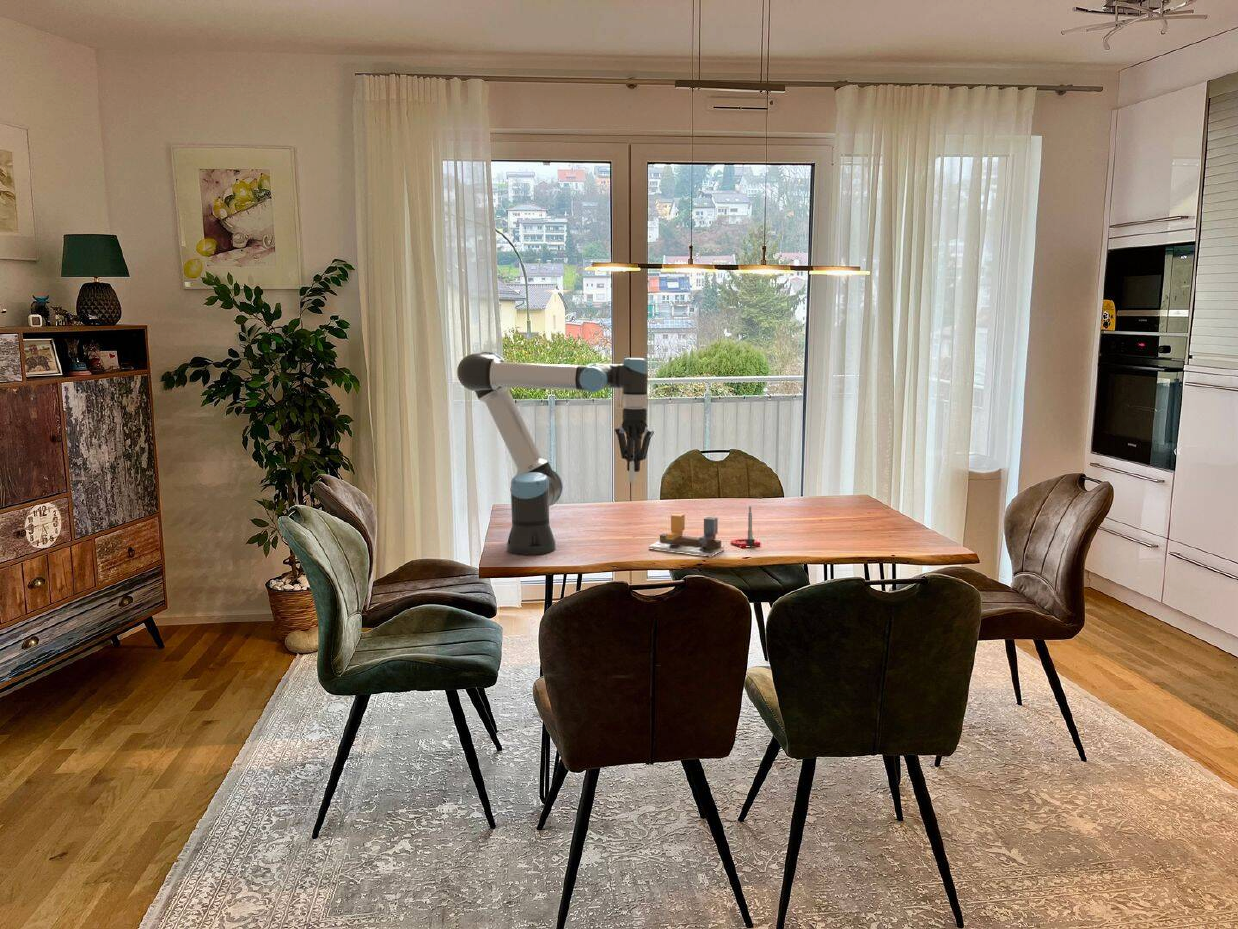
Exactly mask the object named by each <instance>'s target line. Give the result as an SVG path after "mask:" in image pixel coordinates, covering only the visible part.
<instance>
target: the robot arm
mask: <svg viewBox="0 0 1238 929" xmlns="http://www.w3.org/2000/svg"><path fill="white" fill-rule="evenodd" d="M456 373H457V374H456V375H457V378H458V379H457V380H458V381H459V382H460V384H461V385H462V386H463V387H464V388H466V389H467V390H470V391H471V392H472V391H474V392H475V394H476V397H477V400H478V401H481V402H483V403H485V406H487V409H488V411H489V413H490V415H491V417H492V419H493V421H494V424H495V425H496V428H497V430H498V432H499V434H500V436H501V438H502V440H503V443H504V444H505V446H506V448H507V450H508V452H509V454H510V455H509V456H511V459H512V460H513V463H514V465H515V468H516V469H517V472H516V474H515V476H514V477H512V478H511V481H510V489H509V490H510V500H511V501H510V502H511V504H510V505H511V506H510V507H511V527H510V532H509V535H508V538H507V542H506V549H507V552H509V553H510V554H514V555H521V556H522V555H523V556H530V555H531V556H533V555H543V554H548V553H551V552H554V551H555V550H556V539H555V538H554V534H553V531H552V528H551V526H550V525H551V524H550V507H551V506H553V505H555V503H557V502H558V500H559V499H560V497H561V496H562V494H563V489H564V486H563V485H564V484H563V480H562V478H561V477H560V475H559V473H557V472H556V471H555V470H553V468H552V466H551V464H550V462H549V460H547V459H544V458H542V456H541V454H540V451H539V450H538V448H537V446H536V443H535V441H534V439H533V438H532V436H531V433H530V431H529V429H528V426H527V424H526V423H525V421H524V419H523V417H522V414H521V412H520V410H519V408H518V406H517V404H516V402H515V400H514V397H513V395H512V394H511V388H516V389H517V388H520V389H521V388H522V389H543V390H566V391H567V390H569V391H585V392H589V393H598V392H599V391H602V390H603V389H622V407H623V408H622V422H621V426H620V427H618V428H617V427H616V428H615V429H614V432H615V433H616V436H617V440H618V446H619V450H620V455H621V459H624V460H626V462H627V464H626V470H627V472H629V476H628V477H629V478H628V479H629V483H636V482H638V472H639V473H640V470H641V461H644V460H646V459H647V456H648V455H647V454H648V450H649V447H650V443H651V438H652V437H653V435H654V432H655V431H654V430H650V429H649V428H648V424H647V414H648V413H647V411H648V410H647V408H646V407H647V406H648V405H647V403H648V402H647V399H648V392H647V391H648V374H649V373H648V361H647V359H646V358H644V357H643V358H642V357H625V358H624V359H623V361H622V363H619V364H618V363H617V364H616V363H599V362H596V363H587V364H586V365H584V364H583V365H582V364H581V365H580V364H579V365H577V364H575V365H574V364H556V363H555V364H554V363H553V364H550V363H530V362H527V363H525V362H506V361H505V359H504V358H503V357H502V356H500V355H499V354H497V353H495V352H494V353H493V352H490V351H482V352H479V353H471V354H468V355H466V356H465V357H463V358H462V359H461V360H460V361H459V363H458V366H457V370H456ZM625 434H626V436H625ZM643 435H644V436H643ZM642 437H643V438H642ZM642 439H643V440H642Z"/></svg>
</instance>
